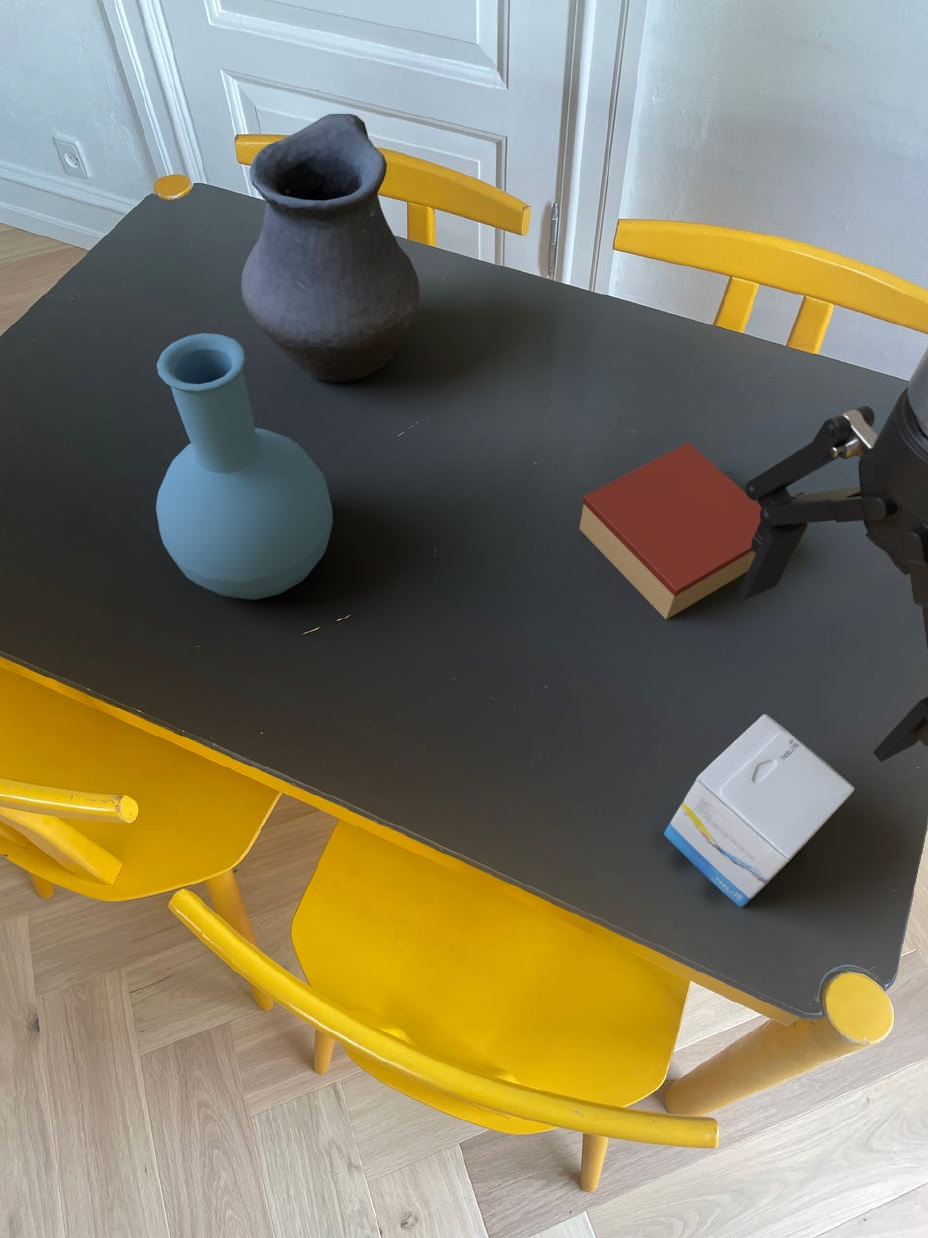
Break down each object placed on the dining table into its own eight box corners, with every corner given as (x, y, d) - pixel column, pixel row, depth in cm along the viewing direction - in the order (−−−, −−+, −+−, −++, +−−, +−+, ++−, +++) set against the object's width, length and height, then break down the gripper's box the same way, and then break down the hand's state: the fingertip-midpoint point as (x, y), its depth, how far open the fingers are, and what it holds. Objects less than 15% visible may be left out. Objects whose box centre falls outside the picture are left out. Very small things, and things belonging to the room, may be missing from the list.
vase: (364, 518, 92) (338, 318, 71) (301, 641, 83) (250, 454, 62) (223, 482, 94) (159, 280, 74) (148, 598, 85) (51, 405, 65)
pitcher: (232, 395, 102) (176, 191, 82) (294, 288, 114) (259, 86, 94) (397, 424, 100) (383, 221, 79) (444, 311, 112) (441, 109, 91)
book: (769, 559, 89) (785, 527, 85) (665, 621, 84) (676, 590, 80) (678, 475, 96) (688, 442, 91) (577, 528, 91) (583, 496, 87)
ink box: (741, 911, 69) (787, 863, 59) (660, 833, 72) (692, 777, 63) (805, 843, 72) (859, 787, 62) (725, 772, 75) (765, 709, 66)
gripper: (750, 289, 44) (666, 550, 62) (1166, 660, 32) (912, 855, 49) (863, 252, 46) (751, 515, 64) (1297, 588, 33) (1008, 800, 51)
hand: (821, 664), depth 56 cm, fingers open, 13 cm apart
